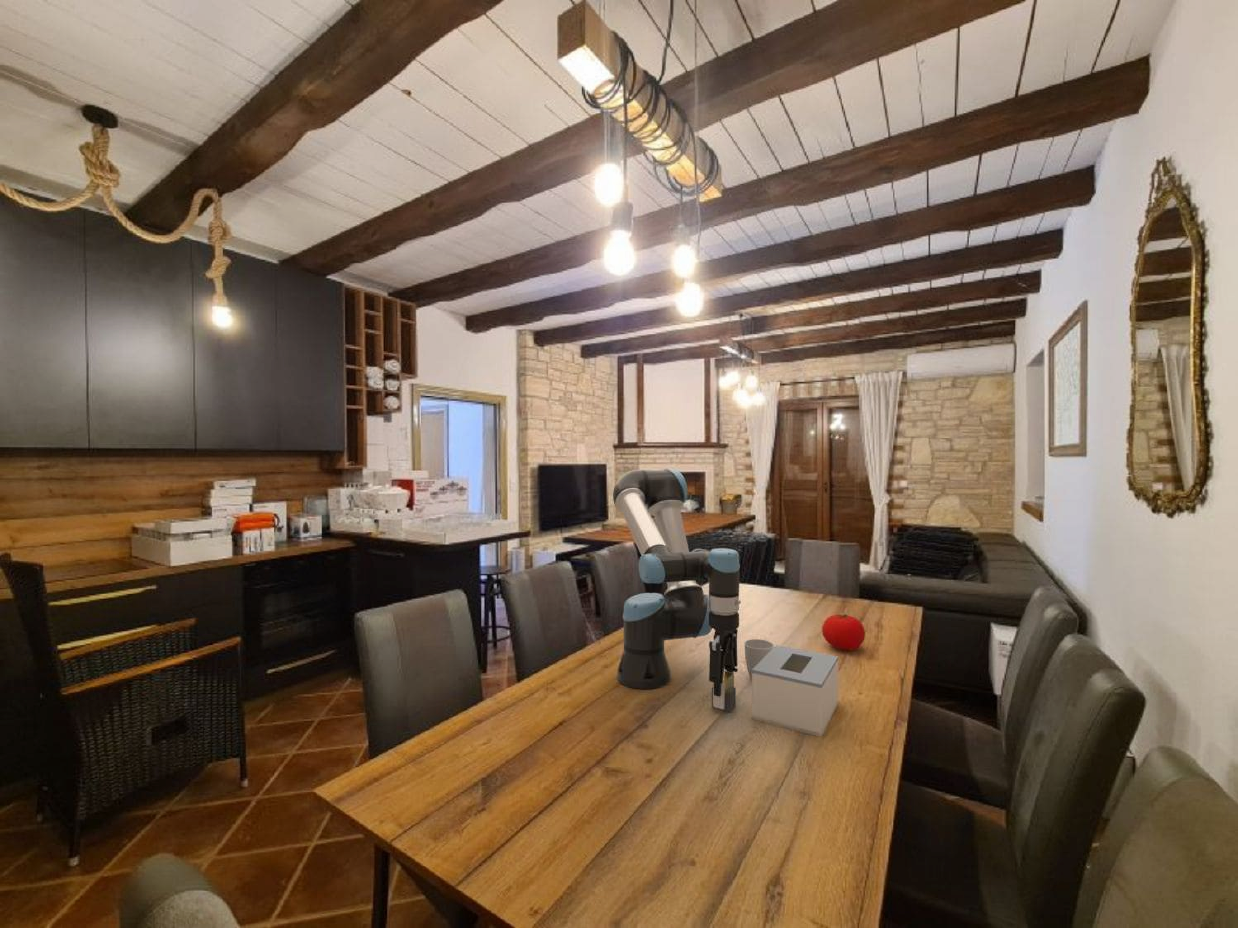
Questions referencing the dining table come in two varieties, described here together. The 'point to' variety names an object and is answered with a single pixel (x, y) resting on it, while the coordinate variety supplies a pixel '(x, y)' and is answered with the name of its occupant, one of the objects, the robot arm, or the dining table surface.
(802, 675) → the box
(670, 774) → the dining table surface
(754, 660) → the cup
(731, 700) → the block
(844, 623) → the tomato
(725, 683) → the yellow wooden brick
